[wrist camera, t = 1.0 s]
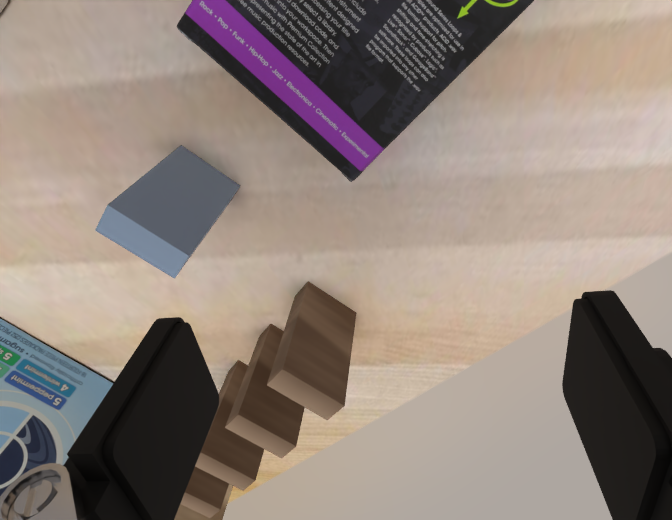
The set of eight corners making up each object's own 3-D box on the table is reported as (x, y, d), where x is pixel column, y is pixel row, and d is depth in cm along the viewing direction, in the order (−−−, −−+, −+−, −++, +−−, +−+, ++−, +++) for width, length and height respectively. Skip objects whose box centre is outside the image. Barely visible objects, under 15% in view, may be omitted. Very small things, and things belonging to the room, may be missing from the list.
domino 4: (304, 363, 44) (281, 458, 35) (259, 336, 42) (224, 427, 34) (316, 351, 43) (295, 446, 34) (270, 323, 41) (237, 414, 33)
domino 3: (271, 395, 47) (243, 490, 38) (228, 371, 45) (189, 463, 37) (282, 385, 46) (255, 480, 37) (238, 360, 44) (200, 452, 36)
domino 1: (227, 204, 36) (174, 278, 27) (169, 165, 34) (95, 230, 26) (240, 185, 35) (189, 256, 26) (181, 145, 33) (107, 204, 25)
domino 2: (242, 424, 49) (210, 518, 41) (201, 402, 48) (159, 493, 40) (251, 415, 48) (220, 509, 40) (210, 392, 47) (168, 484, 39)
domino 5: (342, 326, 41) (327, 420, 32) (295, 296, 39) (266, 385, 31) (356, 312, 40) (344, 405, 31) (308, 281, 38) (282, 369, 30)
